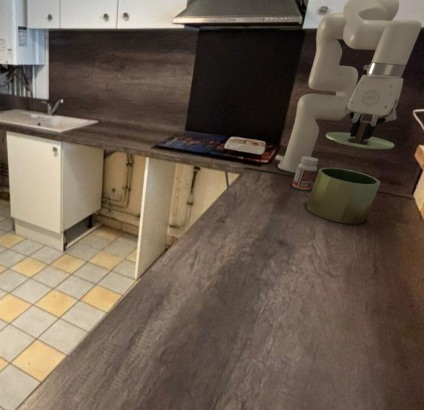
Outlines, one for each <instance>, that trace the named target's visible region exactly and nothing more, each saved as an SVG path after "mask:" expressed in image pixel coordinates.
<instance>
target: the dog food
mask: <svg viewBox="0 0 424 410" xmlns="http://www.w3.org/2000/svg"><path fill="white" fill-rule="evenodd" d="M266 145H267V144H266V141H263V140H258V139H251V138H244V137H240V136H230V137H229V138H228V140H227V141H226V142H225V144H224V146H223V147H224V149H225V150H228V151H233V152H237V153H244V154H251V155H257V156H262V155H263V154H264V153H265V151H266V148H267V147H266Z"/></svg>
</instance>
